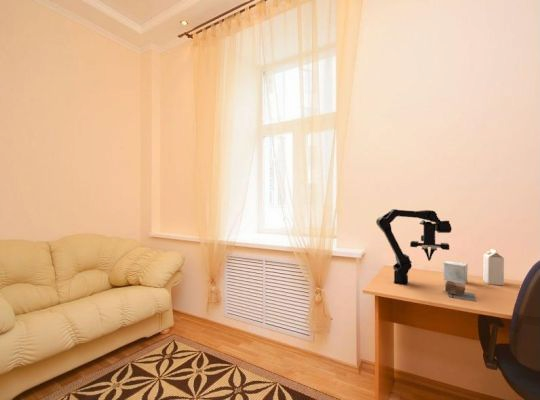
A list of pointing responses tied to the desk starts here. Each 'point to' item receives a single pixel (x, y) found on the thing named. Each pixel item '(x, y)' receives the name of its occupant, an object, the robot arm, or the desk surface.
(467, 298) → the rubber mat
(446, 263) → the skincare box
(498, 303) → the desk surface
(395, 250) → the robot arm
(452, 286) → the wooden block
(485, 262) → the milk carton
